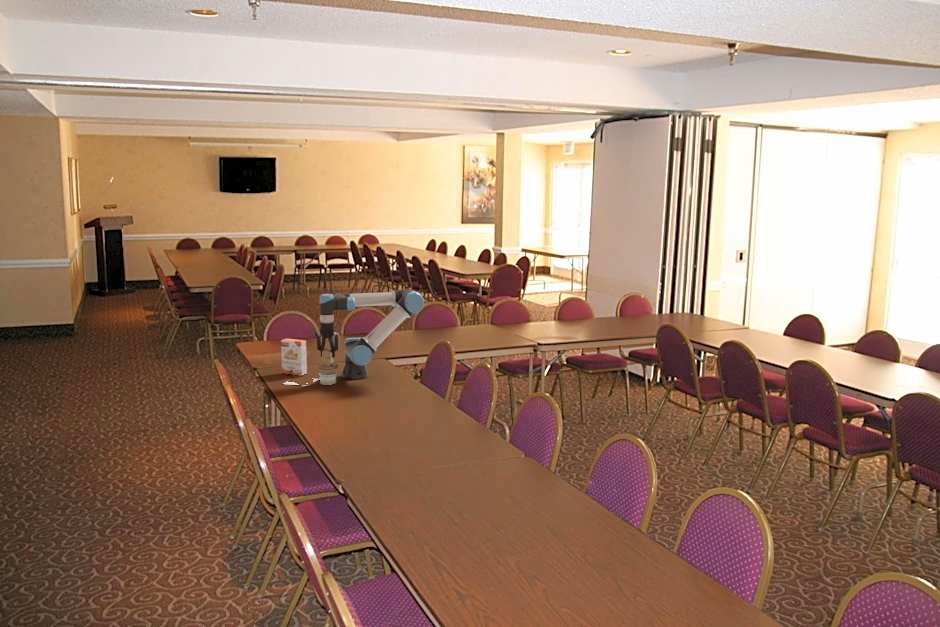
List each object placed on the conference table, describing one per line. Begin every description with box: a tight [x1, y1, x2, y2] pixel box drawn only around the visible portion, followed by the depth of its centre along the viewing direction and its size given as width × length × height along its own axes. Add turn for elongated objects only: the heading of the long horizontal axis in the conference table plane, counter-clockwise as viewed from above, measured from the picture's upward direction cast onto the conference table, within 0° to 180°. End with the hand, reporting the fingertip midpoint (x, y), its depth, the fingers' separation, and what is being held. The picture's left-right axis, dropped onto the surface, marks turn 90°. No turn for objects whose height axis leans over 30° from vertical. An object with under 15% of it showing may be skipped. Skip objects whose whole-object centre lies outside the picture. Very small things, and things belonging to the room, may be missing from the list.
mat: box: [282, 378, 320, 387], centre depth 440 cm, size 16×16×1 cm
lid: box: [317, 348, 339, 371], centre depth 434 cm, size 11×11×10 cm
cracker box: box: [280, 338, 308, 376], centre depth 456 cm, size 14×6×21 cm, turn 68°
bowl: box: [318, 370, 338, 386], centre depth 436 cm, size 10×10×6 cm
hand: (328, 362), depth 435 cm, fingers closed on lid, 4 cm apart
